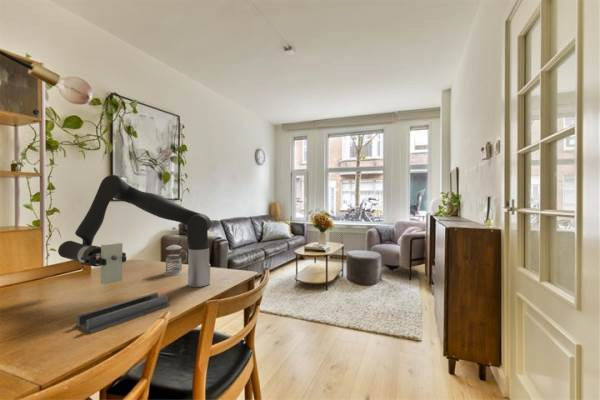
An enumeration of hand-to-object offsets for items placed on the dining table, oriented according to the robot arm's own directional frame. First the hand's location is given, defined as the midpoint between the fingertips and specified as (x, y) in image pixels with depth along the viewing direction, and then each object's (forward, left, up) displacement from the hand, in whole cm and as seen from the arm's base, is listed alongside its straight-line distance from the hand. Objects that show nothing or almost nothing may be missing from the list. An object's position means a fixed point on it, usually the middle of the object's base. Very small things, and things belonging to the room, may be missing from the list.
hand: (115, 260), depth 101 cm
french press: (-28, -43, -18) cm, 54 cm away
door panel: (+1, -2, -8) cm, 8 cm away
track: (-3, +7, -18) cm, 20 cm away
